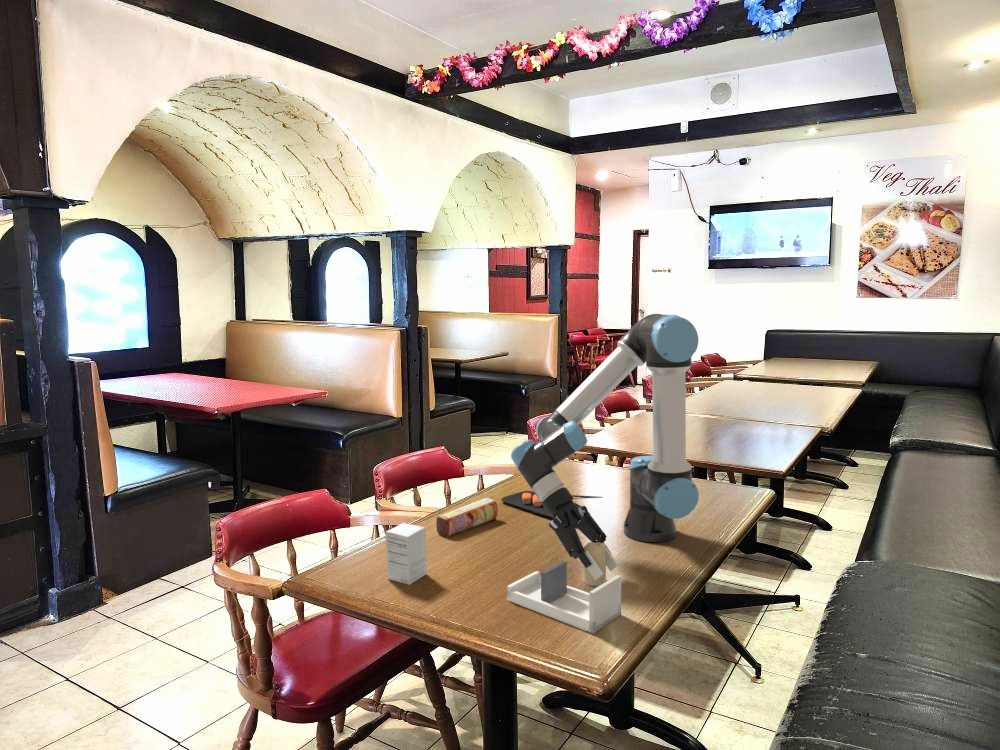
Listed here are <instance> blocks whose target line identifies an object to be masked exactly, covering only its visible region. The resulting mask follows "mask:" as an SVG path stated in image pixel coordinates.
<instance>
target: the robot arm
mask: <svg viewBox="0 0 1000 750" xmlns="http://www.w3.org/2000/svg"><path fill="white" fill-rule="evenodd" d="M616 343H617V345H616V346H617V347H616V348H615V349H614V350H613V351H612V352H611V353H610V354H609V355H608V356H607V357H606V358H605V359H604V360H603V361H602V363H601V364H599V366H598V367H597V368H596V369H594V370H593V371H592V372H591V373H590V375H588V377H587V378H586V379H585V380H583V381H582V383H580V385H579V386H578V387H576V389H575V390H574V391H573V392H572V393H571V394H570V395H569V396H568V397H567V398H566V399H565V400H564V401H563V402H562V403H561V404H560V405H559V406H558V407H557V408H556V409H555V410H554V411H552V413H551V414H550V415H549V416H545V417H542V418H540V419H539V421H537V424H536V425H535V426H536V427H535V432H536V435H537V438H539V441H538V442H535V441H534V440H533V439H526V440H525V441H523V442H520V443H519V444H518V445H516V446H515V447H514V448H513V449H512V451H511V453H510V458H511V459H512V461H513V463H514V465H515V467H516V468H517V470H518V471H519V472H520V474H521V476H522V477H523V478H524V480H525V481H526V482H527V484H528V485H529V487H530V488H531V491H532V492H534V493H535V494H536V496H537V497H538V499H539V500H540V501H543V504H542V505H543V506H544V508H545V509H546V511H547V512H548V514H549V515H553V517H554V518H552V520H551V521H550V522H549V523H548V526H549V528H551V529H552V530H553V531H554V533H555V534H556V536H557V537H558V540H559V541H560V543H561V545H562V547H564V549H565V551H566V552H567V554H568V555H569V557H570V558H573V559H575V560H577V559H579V560H580V562H581V564H583V565H584V566H585V567H586V568H587V569H588V570H589V572H590V573H591V575H592V576H593V578H594V579H595V580H597V579H598V578H599V577H600V576H602V575H603V572H602V571H601V569H600V568H599V566H598V565H597V563H596V562H595V561H594V559H593V558H592V556H591V555H590V553H589V552H588V551H586V552H585V550H584V545H583V544H582V541H581V539H580V536H579V535H578V531H577V530H579V531H580V532H581V534H583V536H584V537H586V538H587V539H588V540H589V542H594V543H597V542H600V543H601V544H602V545H603V546H604V547H605V548H606V568H608V570H609V571H610V572H612V571H614V569H615V568H617V567H618V566H619V563H618V562H617V560H616V559H615V558H614V556H613V555H612V552H611V551H610V549H609V547H608V546H607V544H606V543H605V542H606V541H607V535H606V533H605V532H604V530H602V528H601V527H600V525H599V524H598V523H597V521H595V519H594V518H593V517H592V515H591V514H590V513H589V511H588V508H587V506H585V505H581V506H582V507H581V508H578V507H577V506H576V505H574V503H573V502H574V497H572V495H573V494H571V492H570V491H569V489H568V488H567V487H565V483H564V482H563V480H562V479H561V478H560V477H559V475H558V474H557V472H556V471H555V470H554V467H555V466H557V465H558V464H560V463H562V462H563V461H564V460H566V459H567V458H569V457H571V456H572V455H573V454H575V453H576V452H578V451H580V450H581V449H582V448H583V447H584V446H586V445H587V443H588V437H587V436H586V434H585V433H584V431H583V430H582V428H581V427H580V426H579V425H580V424H581V422H583V420H585V419H586V418H587V417H588V416H589V415H590V414H591V413H592V412H593V411H594V409H596V407H598V406H599V405H600V404H601V402H603V401H604V399H606V397H607V396H609V395H610V394H611V393H612V392H613V391H614V389H616V387H618V385H620V383H622V381H624V379H626V377H628V376H629V374H630V373H631V372H632V371H633V370H634V369H636V367H639V366H641V367H642V366H644V364H646V368H647V369H648V371H650V372H651V375H652V376H651V377H652V379H651V380H652V383H651V384H652V385H651V386H652V387H651V388H652V445H653V446H652V447H653V448H652V449H653V450H652V452H653V454H652V455H640V456H635V457H633V458H632V459H631V460H630V466H629V508H628V511H627V514H626V517H625V519H624V522H623V533H624V535H625V536H627V537H628V538H629V539H632V540H635V541H638V542H639V541H640V542H645V543H646V542H647V543H663V542H668V541H670V540H673V539H674V538H675V537H676V536H677V526H676V523H675V520H676V519H682V518H684V517H686V516H689V515H690V514H691V512H692V511H694V510H695V509H696V507H697V505H698V504H699V498H700V493H699V488H698V487H697V485H696V484H695V482H693V474H692V473H693V472H692V471H693V469H692V468H693V467H692V465H691V463H690V462H689V461H687V450H686V448H687V444H686V443H687V434H686V433H687V430H686V429H687V427H686V426H687V425H686V424H687V423H686V422H687V421H686V419H687V418H686V416H687V415H686V409H687V407H686V406H687V405H686V399H687V396H686V374H687V373H686V372H688V370H689V369H691V367H692V357H693V355H694V354H695V353H696V351H697V349H698V347H699V333H698V331H697V329H696V327H695V325H694V324H693V323H692V322H691V321H690V320H688V319H687V318H685V317H682V316H679V315H676V314H662V313H652V314H648V315H646V316H643V317H642V318H641V319H639V320H638V321H637V322H636V323H635V324H633V325H632V326H631V328H629V330H628V331H627V332H626V333H625V334H624V335H623V336H622V337H620V338H619V340H618V341H617V342H616ZM584 552H585V553H584Z"/></svg>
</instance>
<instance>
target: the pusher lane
mask: <svg viewBox="0 0 1000 750" xmlns="http://www.w3.org/2000/svg"><path fill="white" fill-rule="evenodd" d="M506 599H507V601H509V602H510V603H513V604H515V605H518V606H521V607H524V608H526V609H528V610H531V611H534V612H536V613H539V614H542V615H544V616H546V617H549V618H552V619H555V620H557V621H559V622H561V623H565V624H567V625H570V626H573V627H575V628H577V629H580V630H582V631H585V632H587V631H588V633H590V634H593V633H594V634H595V633H596V632H598V631H599V630H600V629H603V628H604V627H605V626H607V625H609V624H610V623H611V622H612V621H614V620H615V619H617V618H618V617H620V616H621V614H622V575H619V574H616V575H615V576H613V577H611V578H610V579H608V580H606V582H605V583H603V584H602V585H600V586H596V587H595V588H593V589H592V590H590V591H589V592H587V591H585V590H582V589H579V588H577V587H576V588H575V587H573V586H569V585H567V594H565V595H563V596H561V597H560V598H558V599H556V600H555V601H553V602H551V603H547V602H544V601H542V600H541V572H540V571H538V570H535V571H534V572H533V571H532V572H531V573H529V574H528V575H526V576H523V577H522V578H520V579H518V580H516V581H514V582H512V583H510V584H509V585H507V586H506Z"/></svg>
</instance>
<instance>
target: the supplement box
mask: <svg viewBox="0 0 1000 750" xmlns="http://www.w3.org/2000/svg"><path fill="white" fill-rule="evenodd" d="M426 545H427V544H426V527H424V526H422V525H421V526H419V525H414V524H409V523H405V522H402V523H400V524H398V525H396V526H394V527H393V528H391V529H389V530H386V531H385V551H386V569H387V570H386V573H387V574H386V575H387V576H386V578H387V579H388V580H391V581H394V582H397V583H401V584H405V585H412V584H413V583H415V582H416V581H418V580H420V579H421V578H422V577H424V576H426V575H427V574H428V571H427V570H428V569H427V568H428V567H427V566H428V565H427V546H426Z"/></svg>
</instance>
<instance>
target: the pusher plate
mask: <svg viewBox="0 0 1000 750" xmlns="http://www.w3.org/2000/svg"><path fill="white" fill-rule="evenodd" d="M540 576H541V600H542V601H544V602H547V603H551V602H553V601H555V600H556V599H558V598H560V597H561V596H563V595H565V594H567V586H568V562H567V561H565V560H561V561H559V562H557V563H555V564H553V565H552V566H550V567H547V568H546V569H543V570H541V572H540Z"/></svg>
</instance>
